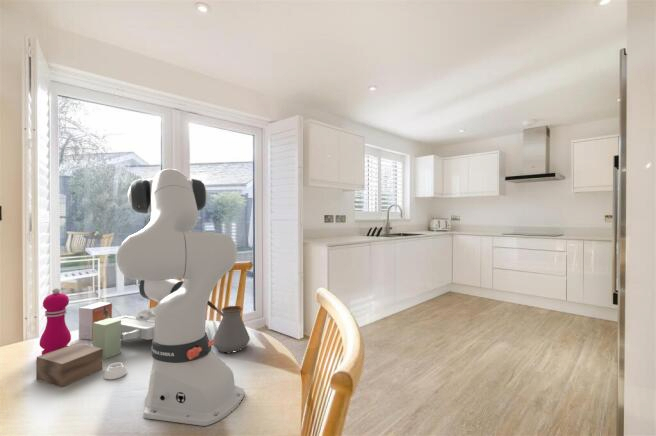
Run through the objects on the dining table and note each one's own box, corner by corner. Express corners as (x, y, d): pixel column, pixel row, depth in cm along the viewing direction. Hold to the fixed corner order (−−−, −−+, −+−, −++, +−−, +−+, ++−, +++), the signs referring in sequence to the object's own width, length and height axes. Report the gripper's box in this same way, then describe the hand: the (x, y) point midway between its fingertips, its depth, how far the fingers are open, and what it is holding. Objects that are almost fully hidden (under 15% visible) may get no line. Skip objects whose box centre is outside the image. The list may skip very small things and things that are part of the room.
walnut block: (102, 370, 90) (102, 348, 90) (62, 388, 80) (62, 364, 80) (77, 363, 93) (78, 342, 93) (36, 380, 84) (36, 356, 84)
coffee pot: (257, 346, 108) (257, 300, 107) (230, 359, 98) (231, 309, 97) (212, 333, 118) (212, 291, 118) (184, 343, 108) (184, 298, 108)
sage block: (120, 352, 101) (121, 320, 100) (104, 359, 96) (104, 325, 96) (109, 349, 102) (109, 317, 102) (92, 356, 98) (93, 322, 97)
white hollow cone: (130, 372, 89) (114, 370, 90) (130, 361, 89) (114, 360, 90) (116, 381, 84) (99, 379, 85) (116, 370, 84) (99, 368, 85)
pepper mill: (32, 358, 95) (33, 290, 95) (58, 348, 102) (59, 284, 102) (52, 361, 93) (52, 291, 93) (76, 351, 100) (77, 286, 100)
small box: (91, 340, 109) (92, 309, 109) (78, 338, 110) (78, 307, 110) (112, 332, 117) (112, 302, 117) (99, 330, 118) (99, 301, 118)
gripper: (127, 308, 117) (87, 320, 104) (172, 316, 109) (135, 329, 97) (127, 326, 117) (87, 340, 104) (172, 334, 110) (134, 350, 97)
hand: (110, 335), depth 100 cm, fingers open, 8 cm apart
